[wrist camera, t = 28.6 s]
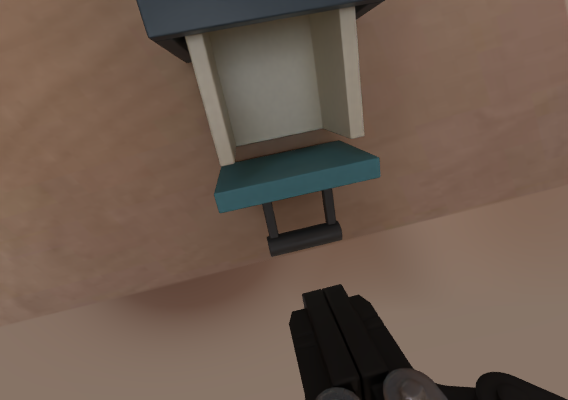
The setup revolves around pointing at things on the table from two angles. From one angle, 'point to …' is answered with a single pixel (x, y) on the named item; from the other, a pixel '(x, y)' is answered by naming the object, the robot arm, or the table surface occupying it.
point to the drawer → (284, 114)
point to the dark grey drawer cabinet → (225, 16)
